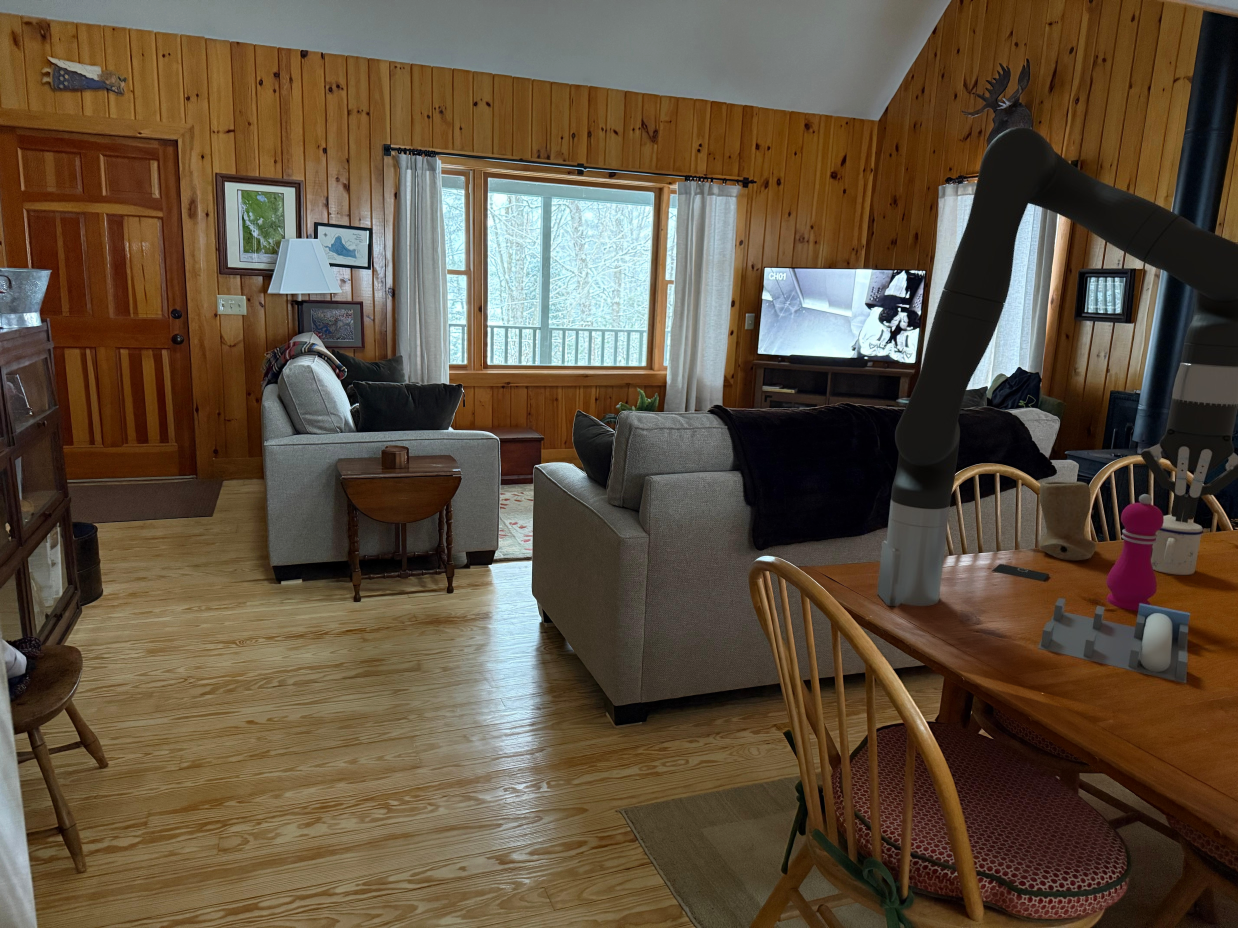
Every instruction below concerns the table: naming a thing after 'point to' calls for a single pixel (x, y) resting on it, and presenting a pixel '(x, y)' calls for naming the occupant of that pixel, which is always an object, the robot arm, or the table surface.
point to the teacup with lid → (1176, 547)
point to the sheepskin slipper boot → (1066, 519)
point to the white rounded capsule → (1157, 643)
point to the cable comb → (1115, 639)
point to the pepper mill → (1135, 556)
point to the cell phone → (1021, 572)
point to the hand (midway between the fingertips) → (1181, 520)
